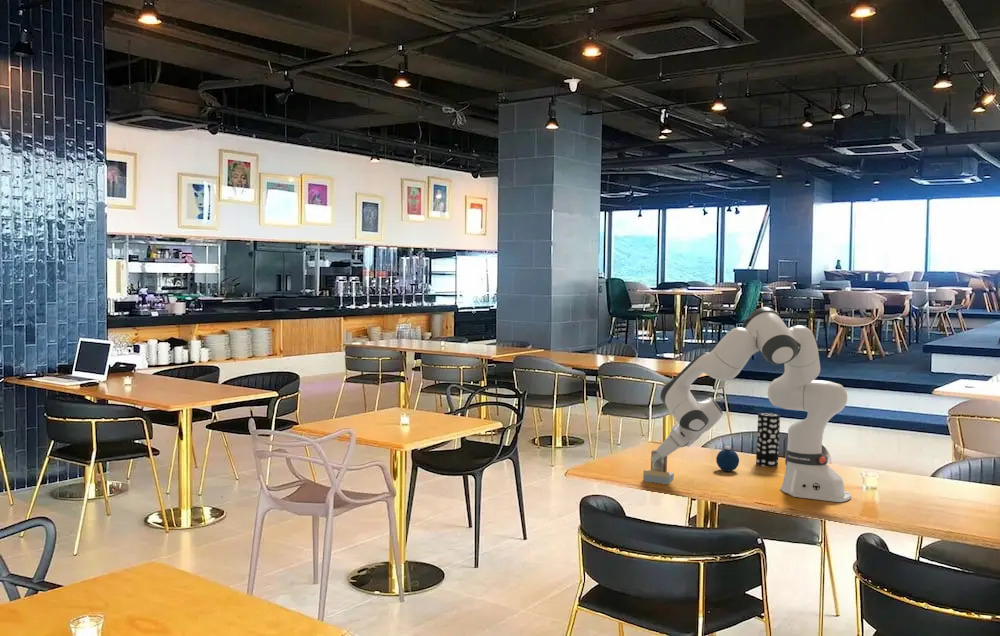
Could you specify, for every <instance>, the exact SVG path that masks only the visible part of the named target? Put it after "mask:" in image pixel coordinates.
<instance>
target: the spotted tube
mask: <svg viewBox="0 0 1000 636" xmlns="http://www.w3.org/2000/svg"><path fill="white" fill-rule="evenodd" d="M780 424H781V415H780V414H778V413H773V412H772V413H770V412H759V413H757V430H756V432H757V433H756V435H757V436H756V454H755V457H756V459H755V465H757V464H758V465H757V466H759V465H761V466H760V467H764V466H769V467H768V468H774V467H773V466H777V467H779V456H780V455H779V453H780V452H779V450H780V448H779V447H780V429H781V428H780Z"/></svg>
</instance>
